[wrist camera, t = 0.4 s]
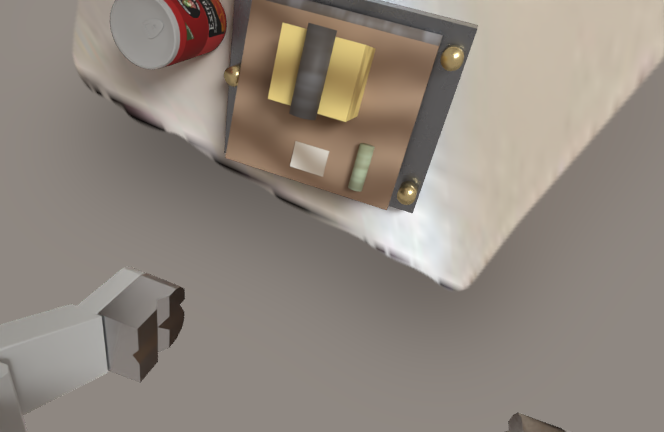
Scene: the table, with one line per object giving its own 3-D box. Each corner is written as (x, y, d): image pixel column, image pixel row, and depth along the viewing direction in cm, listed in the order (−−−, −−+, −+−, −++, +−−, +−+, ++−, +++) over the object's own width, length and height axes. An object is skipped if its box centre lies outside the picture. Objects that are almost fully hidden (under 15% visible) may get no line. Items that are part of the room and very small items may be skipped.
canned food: (240, 27, 53) (190, 41, 44) (199, 65, 57) (145, 85, 48) (199, -32, 51) (138, -30, 42) (160, 12, 55) (95, 22, 46)
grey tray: (249, -33, 50) (227, -33, 45) (477, 25, 46) (477, 31, 42) (234, 144, 61) (216, 158, 57) (415, 202, 58) (410, 221, 54)
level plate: (260, -12, 47) (217, -32, 38) (442, 35, 44) (442, 26, 35) (231, 155, 54) (188, 171, 45) (388, 206, 51) (376, 234, 42)
